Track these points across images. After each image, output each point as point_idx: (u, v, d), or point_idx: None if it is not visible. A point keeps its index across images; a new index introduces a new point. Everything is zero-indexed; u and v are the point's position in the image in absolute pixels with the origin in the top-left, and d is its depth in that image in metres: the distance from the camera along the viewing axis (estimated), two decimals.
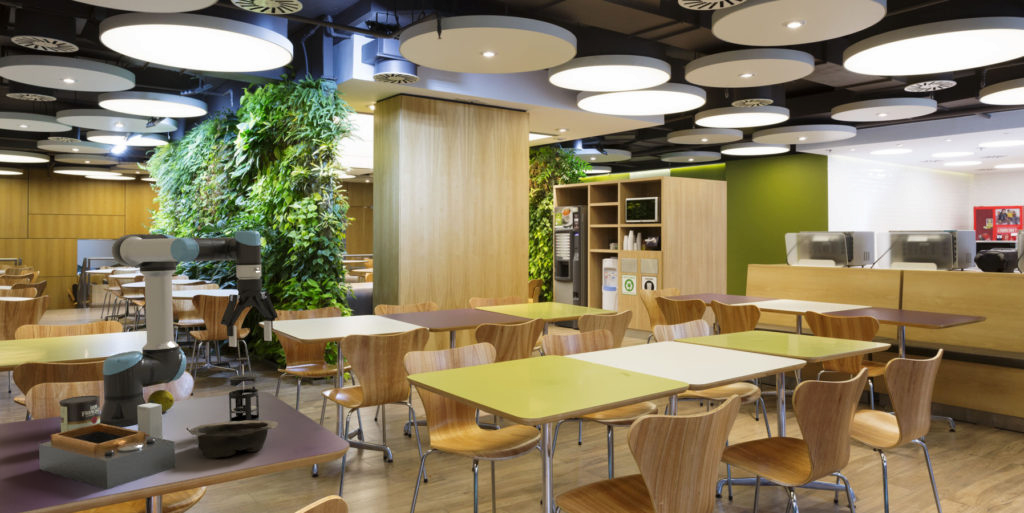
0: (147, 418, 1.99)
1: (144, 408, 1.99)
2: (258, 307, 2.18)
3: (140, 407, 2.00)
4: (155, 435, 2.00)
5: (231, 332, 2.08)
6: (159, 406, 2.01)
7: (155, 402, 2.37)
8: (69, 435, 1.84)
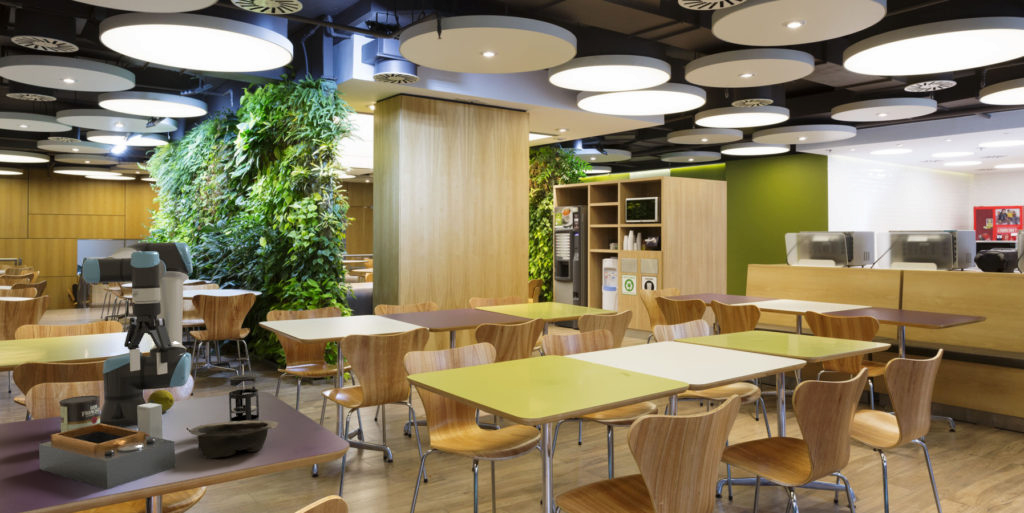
0: (147, 418, 1.99)
1: (144, 408, 1.99)
2: None
3: (140, 407, 2.00)
4: (155, 435, 2.00)
5: None
6: (159, 406, 2.01)
7: (155, 402, 2.37)
8: (69, 435, 1.84)
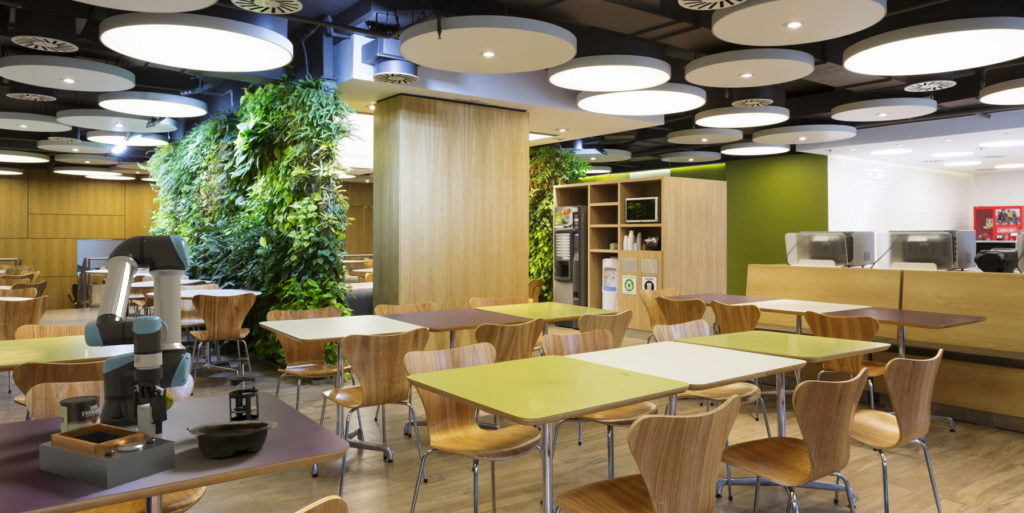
0: (147, 418, 1.99)
1: (144, 408, 1.99)
2: None
3: (140, 407, 2.00)
4: None
5: None
6: None
7: None
8: (69, 435, 1.84)
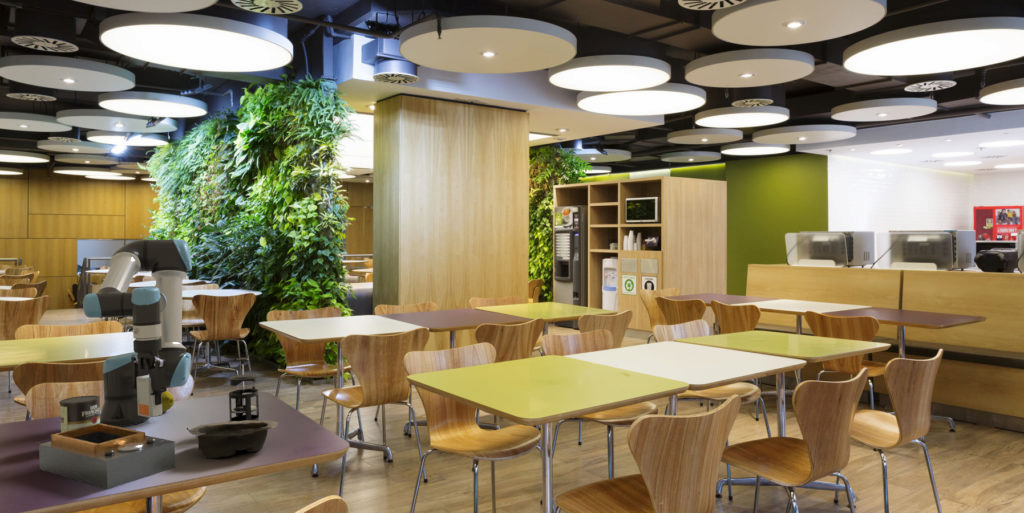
0: (146, 389, 1.99)
1: (143, 379, 1.99)
2: None
3: (139, 378, 2.00)
4: None
5: None
6: None
7: None
8: (69, 435, 1.84)
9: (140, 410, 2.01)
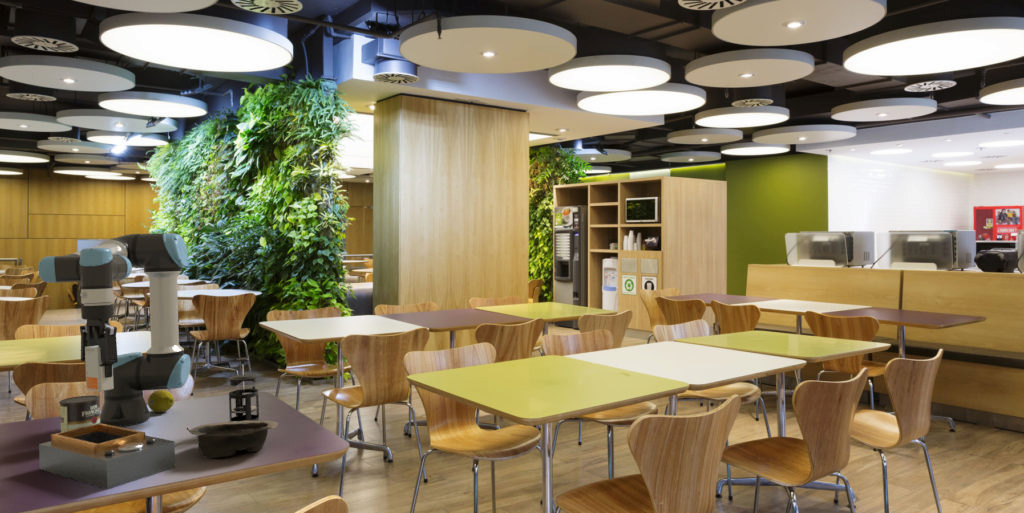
0: (95, 360, 1.79)
1: (92, 349, 1.80)
2: None
3: (88, 348, 1.81)
4: None
5: None
6: None
7: (155, 402, 2.37)
8: (69, 435, 1.84)
9: (88, 384, 1.81)
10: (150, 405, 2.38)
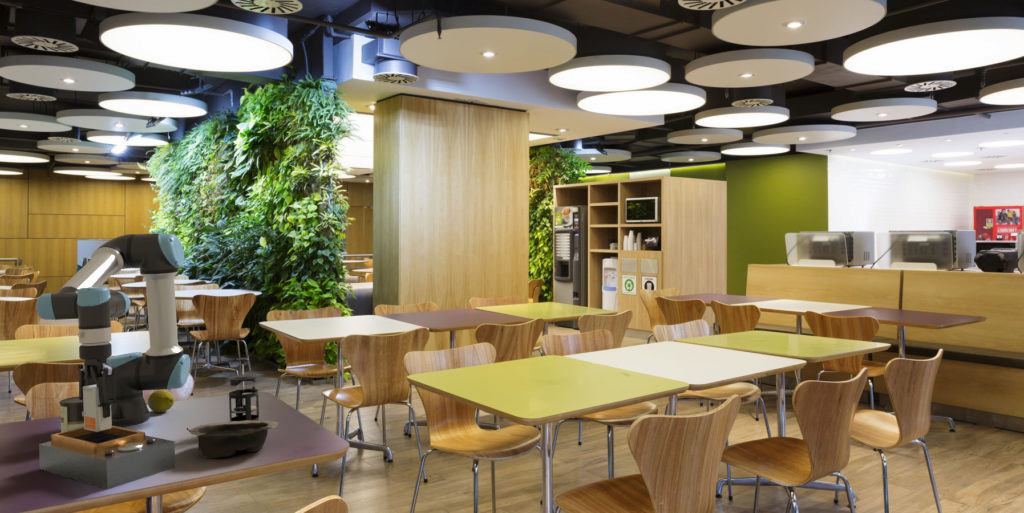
0: (93, 400, 1.79)
1: (90, 389, 1.79)
2: None
3: (86, 388, 1.80)
4: None
5: None
6: None
7: (155, 402, 2.37)
8: (69, 435, 1.84)
9: (86, 423, 1.80)
10: (150, 405, 2.38)
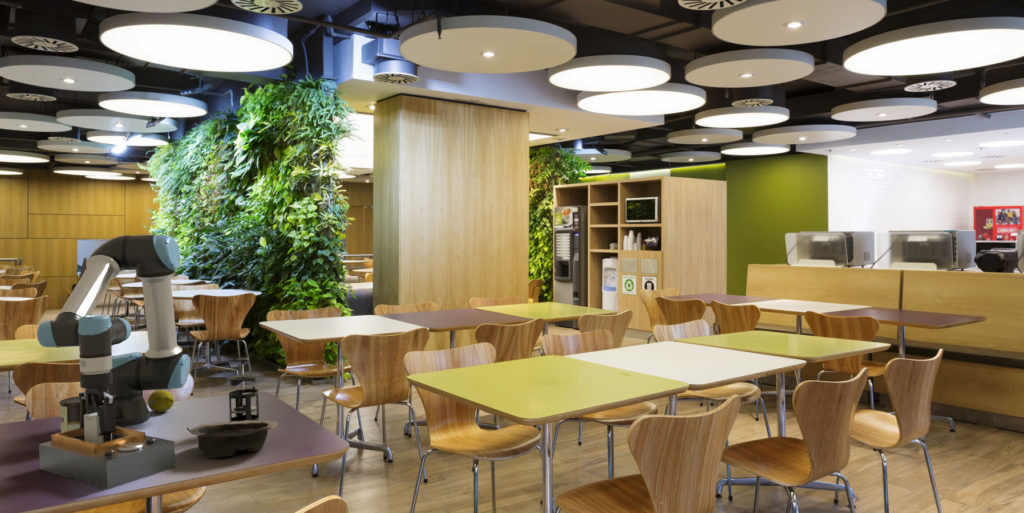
0: (93, 429, 1.79)
1: (91, 417, 1.79)
2: None
3: (86, 416, 1.80)
4: None
5: None
6: None
7: (155, 402, 2.37)
8: (69, 435, 1.84)
9: None
10: (150, 405, 2.38)
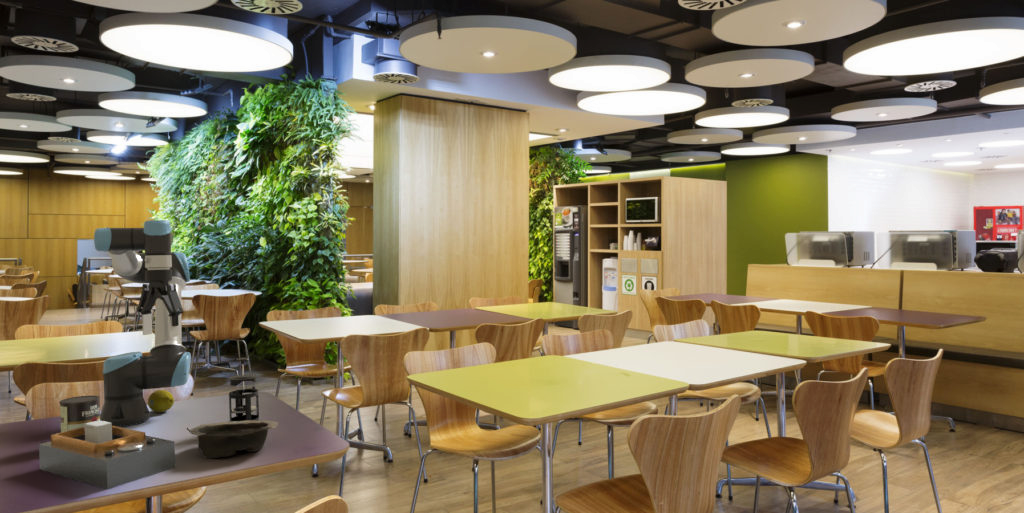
0: (94, 438, 1.79)
1: (91, 427, 1.79)
2: None
3: (87, 425, 1.80)
4: None
5: None
6: (108, 424, 1.81)
7: (155, 402, 2.37)
8: (69, 435, 1.84)
9: None
10: (150, 405, 2.38)
